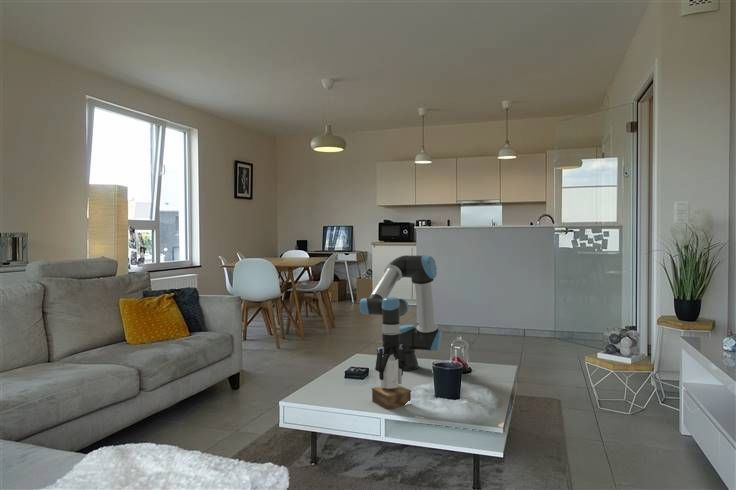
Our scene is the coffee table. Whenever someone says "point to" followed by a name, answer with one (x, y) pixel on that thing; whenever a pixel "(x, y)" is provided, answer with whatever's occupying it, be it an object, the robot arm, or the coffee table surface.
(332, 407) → the coffee table surface
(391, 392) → the walnut box
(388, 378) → the mug
